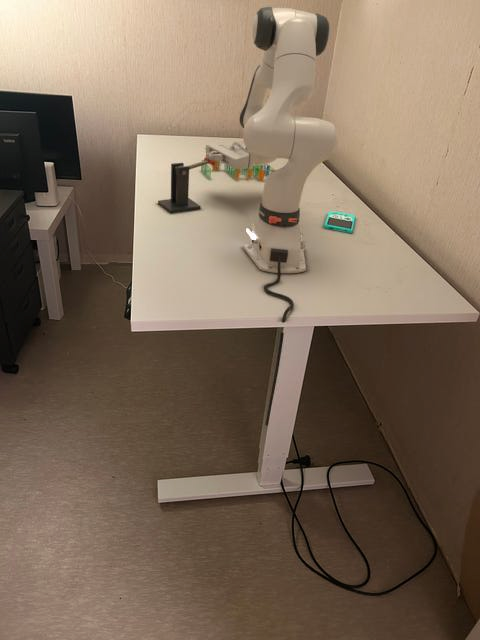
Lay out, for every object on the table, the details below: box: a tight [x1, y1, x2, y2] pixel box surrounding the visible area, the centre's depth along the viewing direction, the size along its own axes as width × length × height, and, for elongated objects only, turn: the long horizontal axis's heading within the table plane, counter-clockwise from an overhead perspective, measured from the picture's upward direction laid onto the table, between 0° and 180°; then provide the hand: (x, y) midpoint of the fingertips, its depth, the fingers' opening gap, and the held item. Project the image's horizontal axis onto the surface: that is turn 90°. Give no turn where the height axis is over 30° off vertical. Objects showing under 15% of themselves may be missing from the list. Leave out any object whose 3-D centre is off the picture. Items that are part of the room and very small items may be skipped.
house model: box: [200, 147, 276, 182], centre depth 211 cm, size 35×30×5 cm
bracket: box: [157, 162, 201, 214], centre depth 163 cm, size 12×10×15 cm
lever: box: [175, 156, 215, 174], centre depth 162 cm, size 14×5×2 cm, turn 124°
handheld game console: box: [323, 211, 356, 234], centre depth 169 cm, size 10×16×1 cm, turn 164°
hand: (207, 156), depth 163 cm, fingers closed
